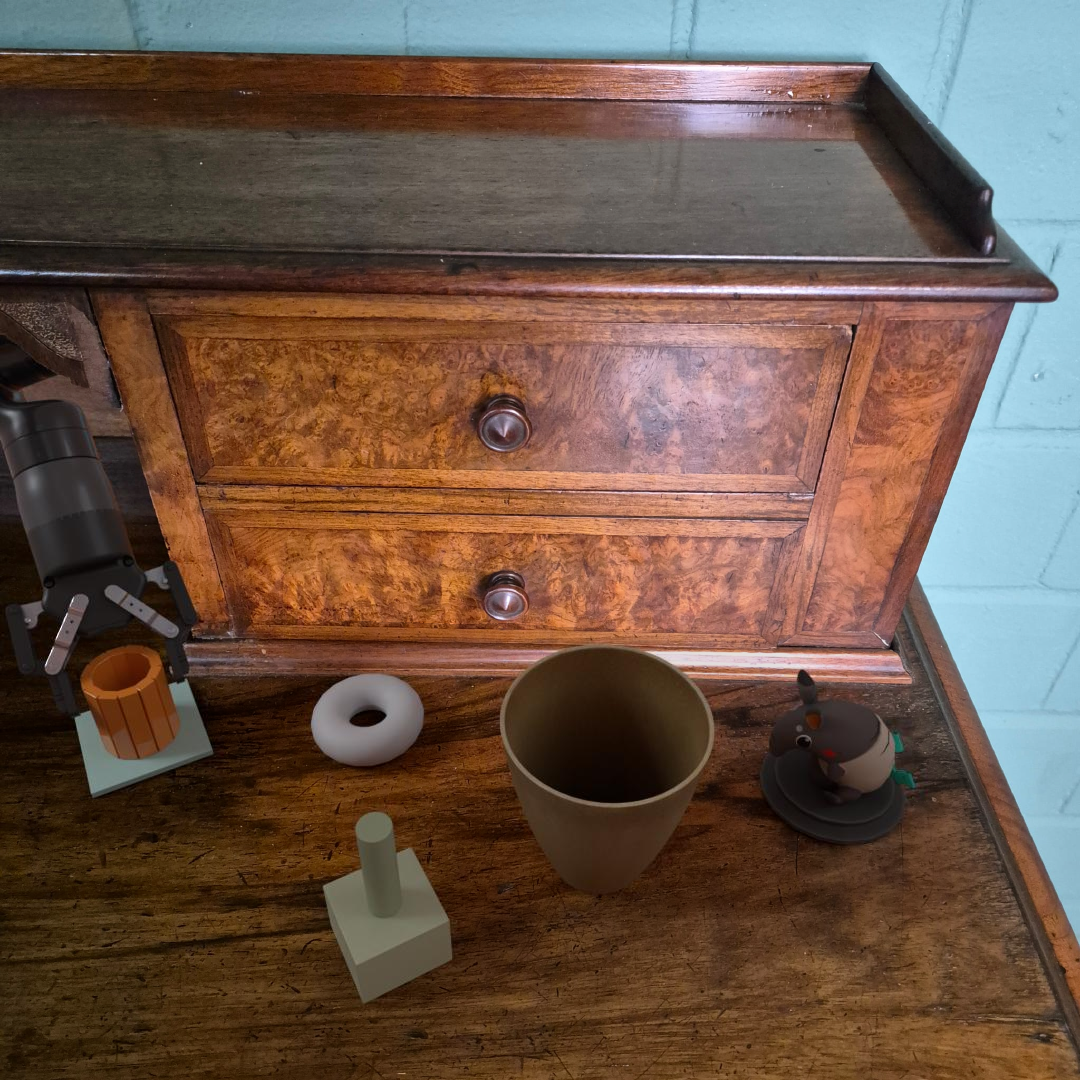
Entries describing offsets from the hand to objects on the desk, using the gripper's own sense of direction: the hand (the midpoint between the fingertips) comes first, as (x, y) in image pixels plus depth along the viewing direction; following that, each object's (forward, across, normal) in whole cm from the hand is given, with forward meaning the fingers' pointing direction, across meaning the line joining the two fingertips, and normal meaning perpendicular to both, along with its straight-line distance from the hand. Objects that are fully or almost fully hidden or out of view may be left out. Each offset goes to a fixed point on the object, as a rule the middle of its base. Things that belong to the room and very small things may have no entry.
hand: (129, 699), depth 81 cm
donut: (+10, +18, -1) cm, 21 cm away
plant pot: (+25, +29, -16) cm, 41 cm away
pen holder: (+3, 0, +4) cm, 5 cm away
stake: (+24, +12, -16) cm, 31 cm away
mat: (+3, 0, +5) cm, 6 cm away
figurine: (+27, +50, -19) cm, 60 cm away
